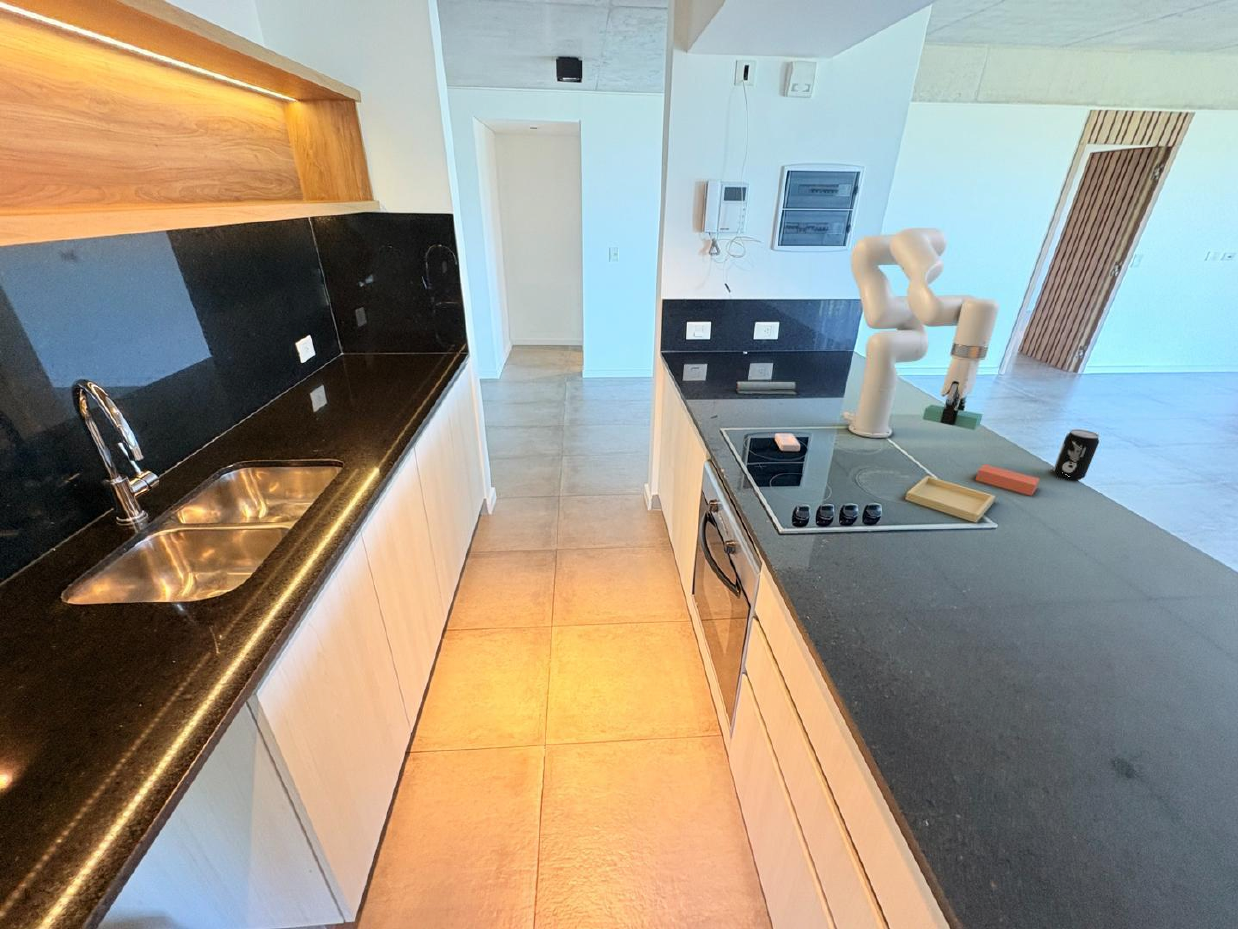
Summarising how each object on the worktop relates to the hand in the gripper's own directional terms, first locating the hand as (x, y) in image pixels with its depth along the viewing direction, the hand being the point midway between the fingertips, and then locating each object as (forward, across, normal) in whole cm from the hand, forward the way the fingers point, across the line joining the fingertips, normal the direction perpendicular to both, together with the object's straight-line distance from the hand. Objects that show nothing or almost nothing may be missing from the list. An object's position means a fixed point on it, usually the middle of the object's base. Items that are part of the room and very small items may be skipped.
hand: (950, 420), depth 137 cm
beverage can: (+14, -20, +25) cm, 35 cm away
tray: (+14, +18, +8) cm, 24 cm away
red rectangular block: (+14, -2, +15) cm, 21 cm away
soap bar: (+14, +14, -37) cm, 42 cm away
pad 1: (0, 0, 0) cm, 0 cm away
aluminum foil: (+10, -30, -71) cm, 78 cm away
